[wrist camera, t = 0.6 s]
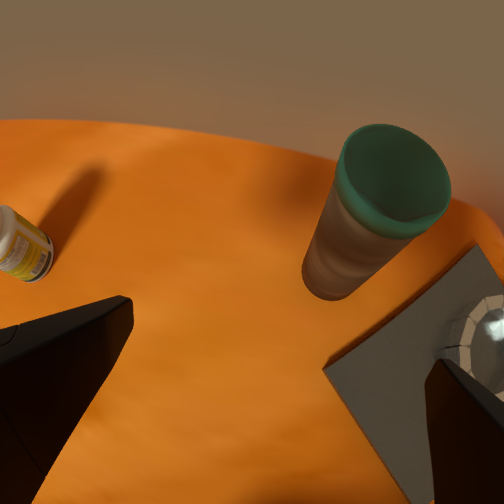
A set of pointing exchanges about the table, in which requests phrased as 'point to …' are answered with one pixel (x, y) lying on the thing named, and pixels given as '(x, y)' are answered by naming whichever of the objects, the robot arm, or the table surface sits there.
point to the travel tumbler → (374, 208)
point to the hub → (423, 366)
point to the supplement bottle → (23, 247)
